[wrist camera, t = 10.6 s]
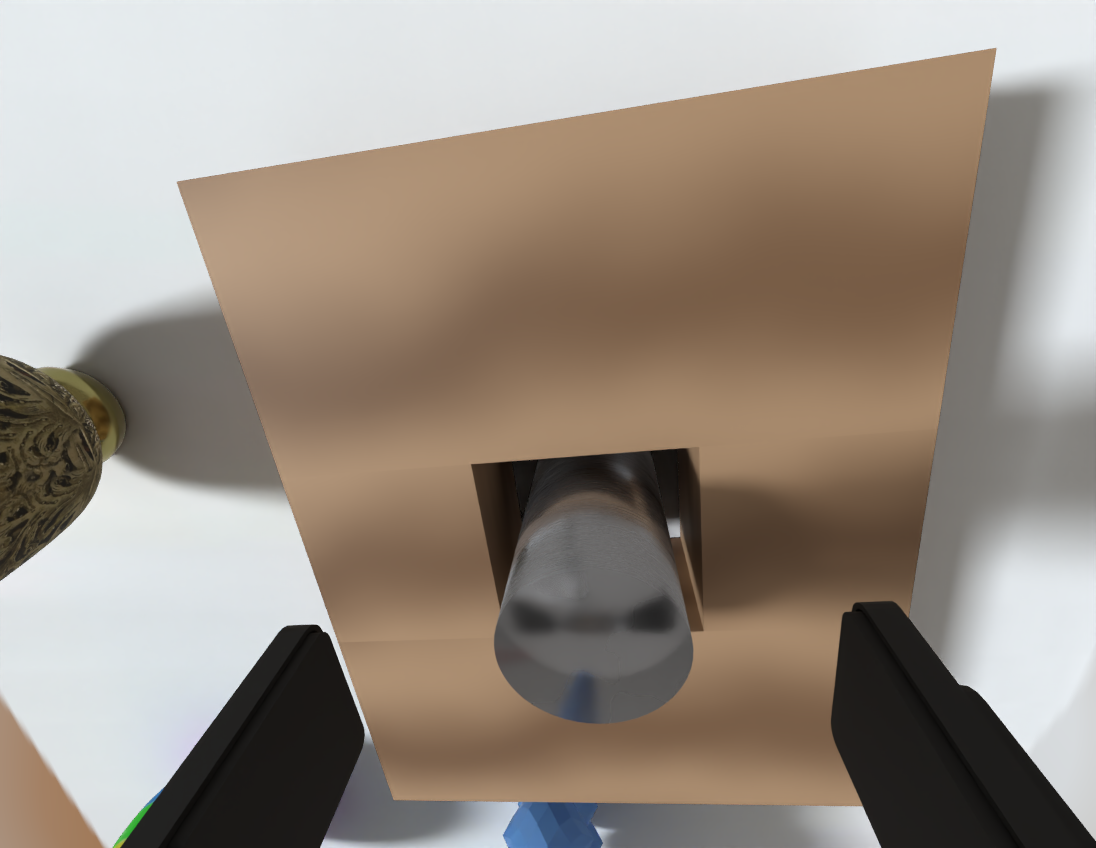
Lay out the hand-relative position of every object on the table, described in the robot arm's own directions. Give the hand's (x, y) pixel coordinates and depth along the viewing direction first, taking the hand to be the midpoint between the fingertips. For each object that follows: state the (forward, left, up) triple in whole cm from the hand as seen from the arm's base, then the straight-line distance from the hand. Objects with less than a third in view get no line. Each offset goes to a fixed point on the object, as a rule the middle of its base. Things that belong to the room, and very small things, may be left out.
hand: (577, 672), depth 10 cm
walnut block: (0, 0, -9) cm, 9 cm away
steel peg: (0, 0, -9) cm, 9 cm away
